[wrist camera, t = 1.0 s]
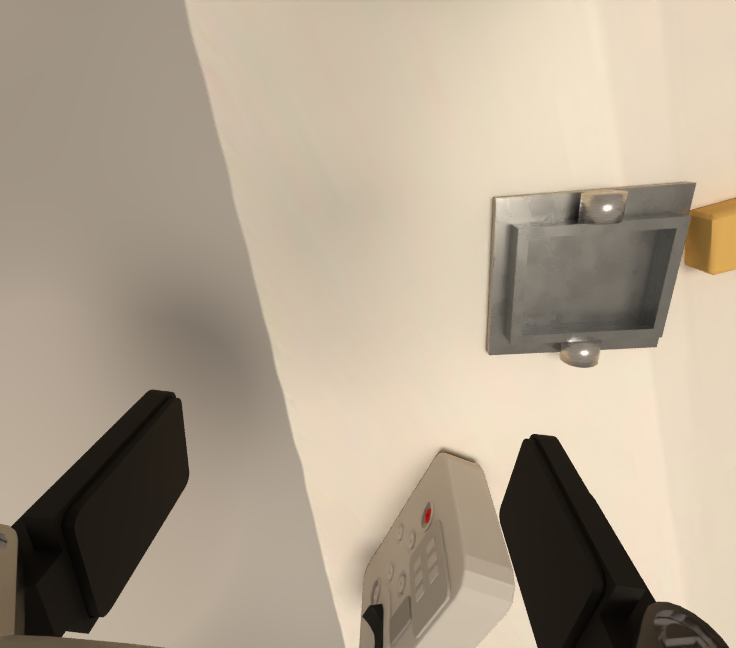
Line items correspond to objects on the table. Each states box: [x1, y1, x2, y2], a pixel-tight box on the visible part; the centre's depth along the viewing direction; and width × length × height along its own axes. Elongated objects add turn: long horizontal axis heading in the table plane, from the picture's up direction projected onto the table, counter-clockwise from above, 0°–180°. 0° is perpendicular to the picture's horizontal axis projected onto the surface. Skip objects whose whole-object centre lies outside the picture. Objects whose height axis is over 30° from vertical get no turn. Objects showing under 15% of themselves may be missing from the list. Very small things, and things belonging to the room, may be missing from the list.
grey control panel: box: [359, 453, 515, 648], centre depth 48 cm, size 29×8×18 cm, turn 158°
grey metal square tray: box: [487, 182, 696, 368], centre depth 39 cm, size 17×18×5 cm
